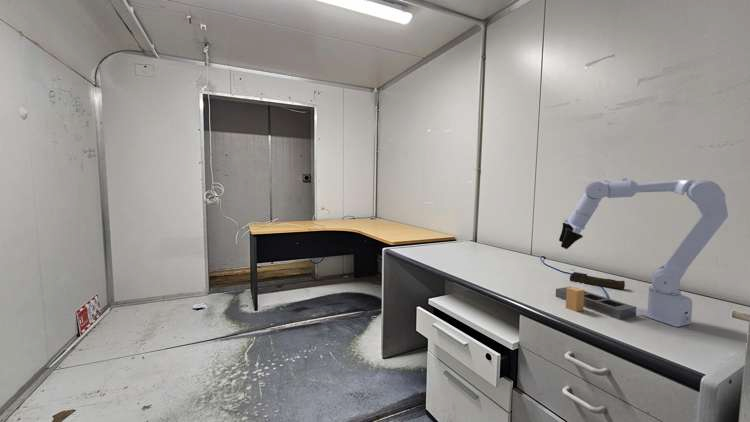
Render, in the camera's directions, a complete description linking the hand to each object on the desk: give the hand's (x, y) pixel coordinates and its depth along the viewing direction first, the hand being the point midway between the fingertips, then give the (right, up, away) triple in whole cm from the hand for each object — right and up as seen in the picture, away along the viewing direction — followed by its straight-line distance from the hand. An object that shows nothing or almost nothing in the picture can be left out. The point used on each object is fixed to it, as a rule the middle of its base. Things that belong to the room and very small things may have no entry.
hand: (562, 244), depth 113 cm
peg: (-3, -21, -11) cm, 24 cm away
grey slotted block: (+6, -21, -8) cm, 23 cm away
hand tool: (+24, -20, +15) cm, 34 cm away
